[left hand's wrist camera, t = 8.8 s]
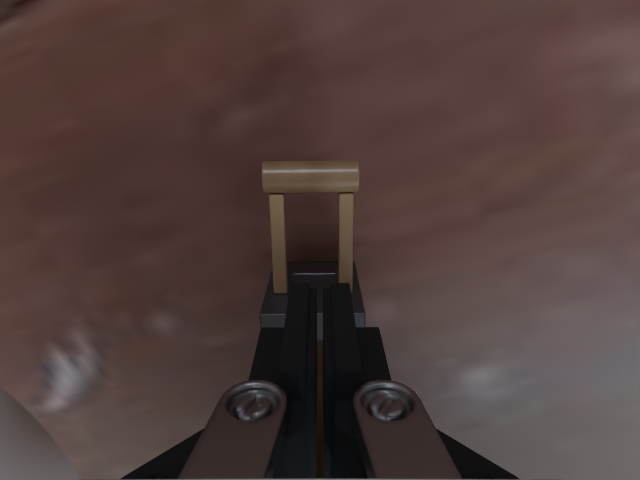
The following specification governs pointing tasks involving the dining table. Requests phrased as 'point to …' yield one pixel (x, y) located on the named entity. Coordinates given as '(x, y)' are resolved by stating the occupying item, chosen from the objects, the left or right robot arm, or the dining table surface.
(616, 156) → the dining table surface
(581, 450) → the dining table surface
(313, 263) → the wooden handle frame
